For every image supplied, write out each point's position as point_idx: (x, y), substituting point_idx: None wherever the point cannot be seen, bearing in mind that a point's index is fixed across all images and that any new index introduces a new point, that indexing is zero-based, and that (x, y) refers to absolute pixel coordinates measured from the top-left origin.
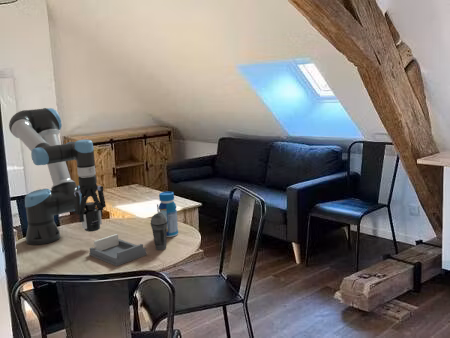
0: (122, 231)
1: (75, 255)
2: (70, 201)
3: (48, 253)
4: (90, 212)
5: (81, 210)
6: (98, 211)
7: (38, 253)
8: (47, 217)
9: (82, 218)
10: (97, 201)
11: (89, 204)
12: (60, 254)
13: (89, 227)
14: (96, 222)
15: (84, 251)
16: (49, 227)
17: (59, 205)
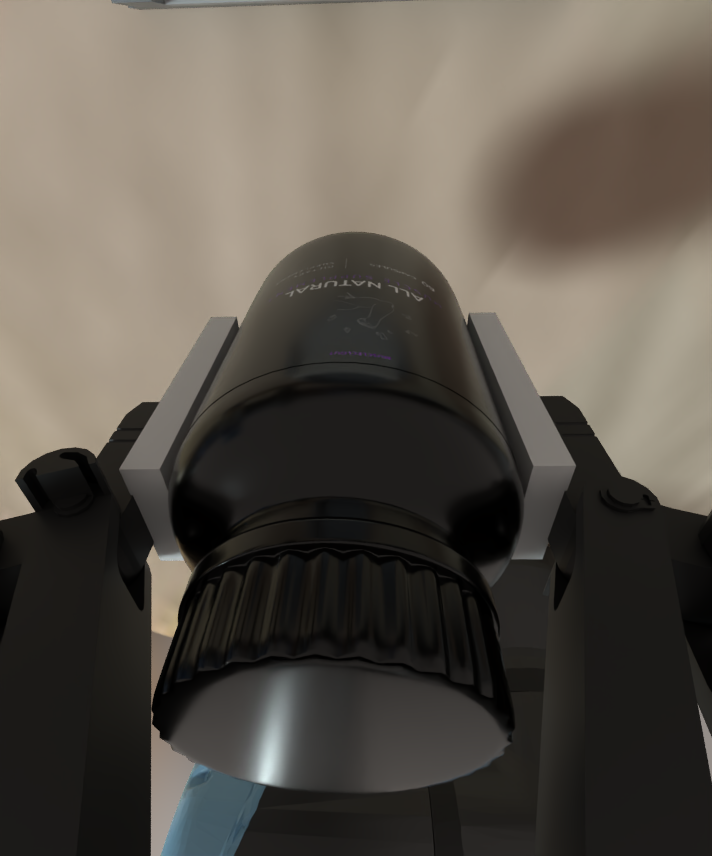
0: (14, 376)
1: (637, 155)
2: (318, 832)
3: (667, 399)
4: (452, 435)
5: (662, 587)
6: (197, 426)
7: (688, 448)
8: (528, 722)
9: (565, 438)
10: (52, 745)
11: (412, 708)
12: (659, 307)
13: (448, 292)
14: (333, 273)
15: (509, 188)
16: (504, 637)
17: (430, 816)
